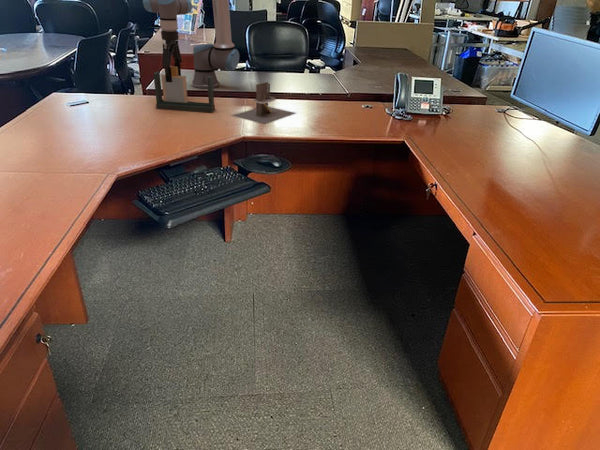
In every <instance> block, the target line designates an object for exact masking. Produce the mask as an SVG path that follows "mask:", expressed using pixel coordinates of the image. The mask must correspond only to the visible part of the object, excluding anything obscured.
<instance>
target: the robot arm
mask: <svg viewBox="0 0 600 450" xmlns="http://www.w3.org/2000/svg"><path fill="white" fill-rule="evenodd" d="M142 5H143V8H144V9H145V11H146V12H148V13H149V12H150V13H156V14H159V26H160V30H161V31H160V35H161V40H163V41H165V43H162V62H161V63H162V65H161V67H162V68H164V75H165V76H166V82H172V74H171V68H170V66H171V62H172V58H173V61H174V63H173V66H177V67H178V76H182V69H181V63H183V60H182V59H183V58H182V54H181V50H180V46H179V31H178V30H179V26H178V25H179V24H178V16H181V15H182V16H183V15H184V16H186V15H188V14H190V13H191V12H192V10H193V4H192V1H191V0H142ZM212 10H213V22H214V23H213V24H214V32H215V34H214V35H215V43H203V44H202V43H201V44H196V45H194V46H193V49H192V50H193V51H192V55H193V67H194V74H193V79H192V82H191V83H192V85H191V86H192V87H194V88H197V89H208V79H207V77H209V76H213V89H215V88H218V87H219V85H220V82H219V81H218V78H217V74H216V70H223V71H231V72H232V71H235V70H236V69H237V67H238V66H239V62H240V51H239V50H238V49H237V48H235V47H236V46H235V43H233V41H232V40H233V39H232V28H231V13H230V1H229V0H212Z"/></svg>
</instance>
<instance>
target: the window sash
mask: <svg viewBox="0 0 600 450" xmlns="http://www.w3.org/2000/svg"><path fill="white" fill-rule="evenodd" d="M170 68H171V74H172V82H166V76H165V74H160V79H161V88H162V98H163V100H164V101H169V102H182V103H188V102H189V99H188V87H187V76H186V75H181V76H178V67H177V66H174V65H170Z"/></svg>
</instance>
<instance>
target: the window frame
mask: <svg viewBox="0 0 600 450" xmlns="http://www.w3.org/2000/svg"><path fill="white" fill-rule="evenodd" d="M152 75H153V82H154V92H155V100H156V101H155V102H156V103H155V108H156V110H166V111H168V110H169V111H180V112H194V113H208V114H212V113H213V112H215V110H216V105H215V95H214V88H213V76H209V77H207V79H208V88H207V95H208V97H207V99H208V102H199V101H188V103H182V102H169V101H164V99H163V90H162V81H161V73H160V71H156V72H154V73H153V74H152Z"/></svg>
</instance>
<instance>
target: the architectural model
mask: <svg viewBox="0 0 600 450" xmlns="http://www.w3.org/2000/svg"><path fill="white" fill-rule="evenodd" d="M255 92H256V93H255V95H256V97H255V99H253V101H254V102H255V103H256V104H255V106H256V107H255V108H253V109H250V110H246V111H243V112H239V113H237V114H233V115H232V116H233V117H237V118H240V119H244V120H248V121H252V122H255V123H256V122H257V123H260V124H264V125H265V124H268V123H271V122H275V121H277V120H280V119H283V118H285V117H288V116H291V115H294V114H295V112H293V111H288V110H285V109H280V108H275V107H271V106H269V103H272V102H274V101H277V100H276V99H277V98H276V97H274V96H271V83H269V81H265V82H261V83H257V84H256V85H255Z"/></svg>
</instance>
